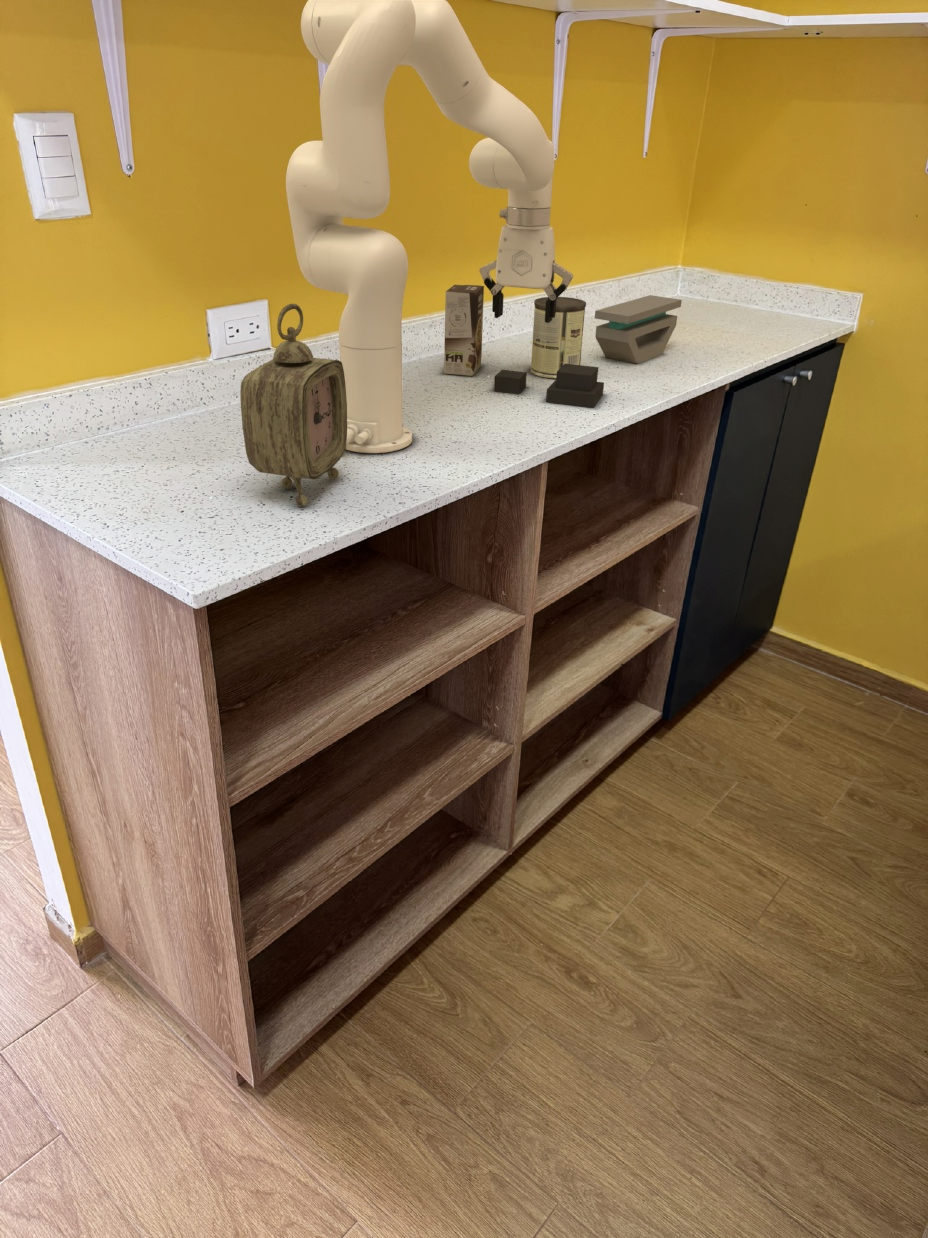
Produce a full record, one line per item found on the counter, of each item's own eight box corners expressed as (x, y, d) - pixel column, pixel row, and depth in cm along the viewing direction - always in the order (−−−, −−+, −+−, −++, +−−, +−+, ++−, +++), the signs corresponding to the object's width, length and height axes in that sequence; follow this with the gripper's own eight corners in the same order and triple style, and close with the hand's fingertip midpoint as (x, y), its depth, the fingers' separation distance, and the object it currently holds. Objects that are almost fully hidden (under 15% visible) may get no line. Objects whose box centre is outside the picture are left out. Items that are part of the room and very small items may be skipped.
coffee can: (540, 363, 188) (544, 294, 181) (586, 369, 184) (592, 299, 177) (522, 374, 180) (526, 302, 173) (570, 381, 176) (576, 308, 169)
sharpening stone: (644, 343, 207) (650, 294, 201) (674, 349, 203) (681, 299, 197) (590, 363, 189) (595, 310, 184) (622, 369, 185) (628, 316, 180)
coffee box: (474, 376, 178) (476, 292, 169) (443, 374, 179) (444, 290, 170) (482, 365, 185) (485, 284, 177) (452, 363, 186) (454, 282, 178)
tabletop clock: (308, 513, 117) (295, 318, 104) (246, 505, 119) (225, 312, 106) (349, 476, 129) (342, 296, 116) (293, 468, 131) (279, 291, 118)
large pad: (593, 407, 161) (594, 394, 160) (545, 402, 164) (546, 388, 162) (602, 395, 169) (604, 382, 167) (557, 389, 171) (558, 376, 170)
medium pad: (589, 391, 161) (591, 375, 160) (555, 387, 163) (556, 371, 162) (596, 382, 167) (598, 367, 165) (563, 379, 168) (564, 363, 167)
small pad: (518, 394, 168) (519, 378, 166) (493, 391, 169) (494, 375, 167) (525, 387, 172) (526, 372, 170) (501, 384, 173) (502, 369, 171)
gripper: (475, 217, 154) (472, 318, 162) (571, 223, 149) (563, 327, 158) (488, 213, 160) (485, 310, 169) (581, 218, 155) (573, 319, 164)
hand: (523, 318), depth 163 cm, fingers open, 9 cm apart
